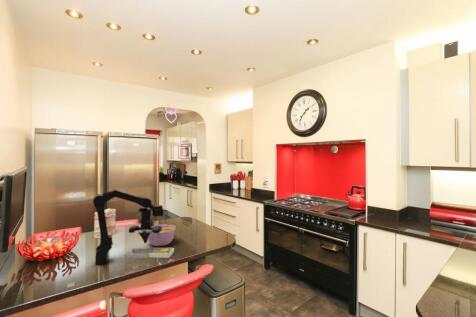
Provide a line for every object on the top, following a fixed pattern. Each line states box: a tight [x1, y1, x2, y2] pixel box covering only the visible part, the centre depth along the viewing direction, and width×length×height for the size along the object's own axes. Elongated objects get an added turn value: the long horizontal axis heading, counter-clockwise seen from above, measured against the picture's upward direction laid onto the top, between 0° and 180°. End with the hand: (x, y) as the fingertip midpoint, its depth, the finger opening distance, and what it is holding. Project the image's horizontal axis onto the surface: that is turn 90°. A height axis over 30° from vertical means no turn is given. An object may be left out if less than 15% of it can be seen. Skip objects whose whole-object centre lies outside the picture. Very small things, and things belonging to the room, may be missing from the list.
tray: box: [148, 247, 175, 259], centre depth 142 cm, size 9×13×3 cm
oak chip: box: [153, 247, 161, 253], centre depth 142 cm, size 4×4×3 cm
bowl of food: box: [146, 223, 176, 247], centre depth 161 cm, size 20×20×12 cm
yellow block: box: [160, 247, 169, 253], centre depth 142 cm, size 4×4×3 cm
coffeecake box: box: [93, 208, 117, 240], centre depth 179 cm, size 15×7×20 cm, turn 171°
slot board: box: [124, 247, 155, 259], centre depth 142 cm, size 11×14×2 cm
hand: (145, 243), depth 143 cm, fingers closed
